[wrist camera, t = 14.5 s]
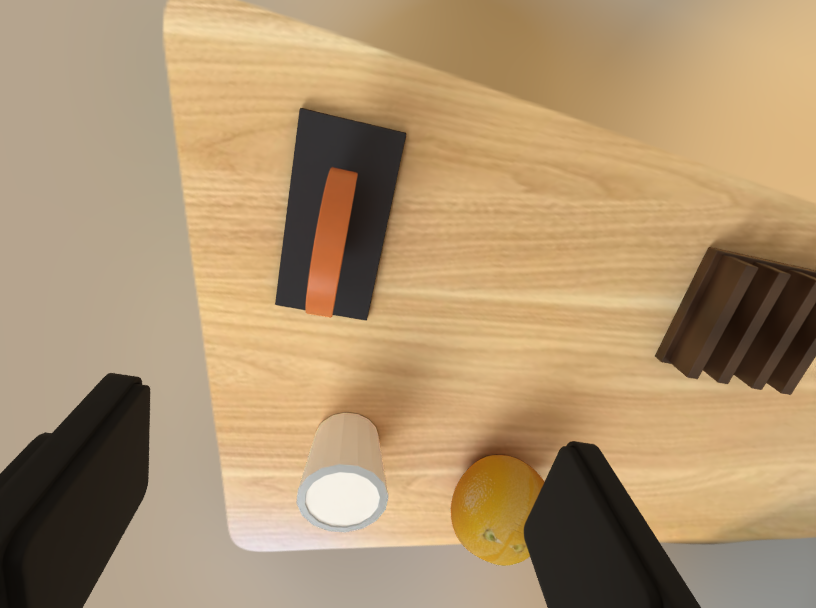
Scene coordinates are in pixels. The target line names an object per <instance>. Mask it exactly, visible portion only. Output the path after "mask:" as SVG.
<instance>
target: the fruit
mask: <svg viewBox="0 0 816 608" xmlns="http://www.w3.org/2000/svg"><path fill="white" fill-rule="evenodd" d="M543 484H544V480H543V479H542V478H541V476H540V475H539V474H538V473H537V472H536V471H535V470H534V469H533V468H531V467H530V466H529V465H527V464H526V463H524V462H523V461H521V460H519V459H516V458H514V457H510V456H505V455H491V456H487V457H484V458H482V459H480V460H478V461H477V462H475V463H474V464H473V465H472V466H471V467H470V468H469V469H468V470H467V471H466V472H465V473H464V474H463V476H462V477H461V479H460V480H459V482H458V484H457V486H456V488H455V491H454V494H453V498H452V503H451V519H452V525H453V528H454V531H455V534H456V536H457V538H458V539H459V541H460V542H461V543H462V545H463V546H464V547H465V548H466V549H467V550H468V551H470V552H471V553H472V554H474V555H475V556H477V557H479V558H481V559H483V560H485V561H487V562H490V563H493V564H497V565H503V566H505V565H513V564H516V563H519V562H522V561H524V560H525V559H527V558H528V557H530V555H529V552H528V549H527V546H526V543H525V540H524V525H525V522H526V520H527V518H528V516H529V514H530V512H531V510H532V507H533V505H534V503H535V501H536V499H537V497H538V495H539V493H540V491H541V488H542V486H543Z"/></svg>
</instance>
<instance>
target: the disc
mask: <svg viewBox="0 0 816 608" xmlns="http://www.w3.org/2000/svg"><path fill="white" fill-rule="evenodd" d="M357 175H358V174H357V173H356V172H352V171H347V170H343V169H338V168H334V167H332V168H331V169H330V171H329V174H328V177H327V181H326V185H325V189H324V193H323V198H322V203H321V208H320V213H319V218H318V223H317V229H316V234H315V240H314V246H313V252H312V258H311V264H310V271H309V278H308V286H307V294H306V313H307V314H313V315H319V316H325V317H332V315H333V309H334V304H335V298H336V293H337V287H338V282H339V276H340V270H341V265H342V259H343V254H344V248H345V242H346V237H347V231H348V226H349V220H350V215H351V209H352V203H353V198H354V192H355V187H356V181H357Z"/></svg>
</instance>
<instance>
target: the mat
mask: <svg viewBox="0 0 816 608" xmlns="http://www.w3.org/2000/svg"><path fill="white" fill-rule="evenodd" d="M405 138H406V133H404V132H400V131H396V130H391V129H387V128H383V127H379V126H374V125H370V124H366V123H362V122H358V121H353V120H349V119H345V118H341V117H337V116H332V115H328V114H324V113H320V112H316V111H311V110H307V109H303V108H300V111H299V119H298V127H297V135H296V143H295V151H294V159H293V167H292V175H291V183H290V191H289V199H288V207H287V215H286V223H285V230H284V238H283V246H282V254H281V262H280V270H279V278H278V286H277V294H276V302H275V305H279V306H285V307H291V308H296V309H302V310H306V294H307V286H308V278H309V271H310V264H311V258H312V252H313V246H314V240H315V234H316V229H317V223H318V218H319V213H320V208H321V203H322V198H323V193H324V189H325V185H326V181H327V177H328V174H329V171H330V169H331V168H332V167H334V168H338V169H343V170H347V171H352V172H356V173H357V174H358V175H357V181H356V187H355V192H354V198H353V203H352V209H351V215H350V220H349V226H348V231H347V237H346V242H345V248H344V254H343V259H342V265H341V270H340V276H339V282H338V287H337V293H336V298H335V304H334V309H333V315H337V316H343V317H349V318H355V319H361V320H367V317H368V312H369V308H370V303H371V298H372V293H373V289H374V284H375V279H376V275H377V270H378V265H379V260H380V256H381V251H382V246H383V242H384V237H385V232H386V227H387V223H388V218H389V213H390V209H391V204H392V199H393V194H394V190H395V185H396V180H397V176H398V171H399V166H400V161H401V157H402V152H403V147H404V142H405Z"/></svg>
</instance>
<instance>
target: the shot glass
mask: <svg viewBox="0 0 816 608" xmlns="http://www.w3.org/2000/svg"><path fill="white" fill-rule="evenodd" d="M387 501H388V491H387V485H386V478H385V472H384V466H383V460H382V454H381V447H380V441H379V436H378V433H377V429H376V427H375V426H374V425H373V423H372V422H371V421H370V420H369V419H367V418H365V417H363V416H361V415H359V414H353V413H341V414H336V415H332V416H331V417H329V418H327V419H326V420H324V421H323V422H322V423H321V424H320V426H319V427H318V429H317V430H316V433H315V436H314V439H313V443H312V446H311V449H310V452H309V456H308V459H307V462H306V465H305V469H304V472H303V475H302V478H301V482H300V485H299V488H298V495H297V505H298V507H299V510H300V512H301V514H302V516H303V517H304V518H306V519H307V520H308V521H309V522H310V523H311V524H312V525H314V526H317V527H319V528H322V529H324V530H327V531H335V532H349V531H354V530H359V529H363V528H365V527H366V526H368V525H370V524H372V523H373V522H375V521H377V519H378V518H379V517H380V516H381V514H382V513H383V512H384V511H385V510H386V505H387Z"/></svg>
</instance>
